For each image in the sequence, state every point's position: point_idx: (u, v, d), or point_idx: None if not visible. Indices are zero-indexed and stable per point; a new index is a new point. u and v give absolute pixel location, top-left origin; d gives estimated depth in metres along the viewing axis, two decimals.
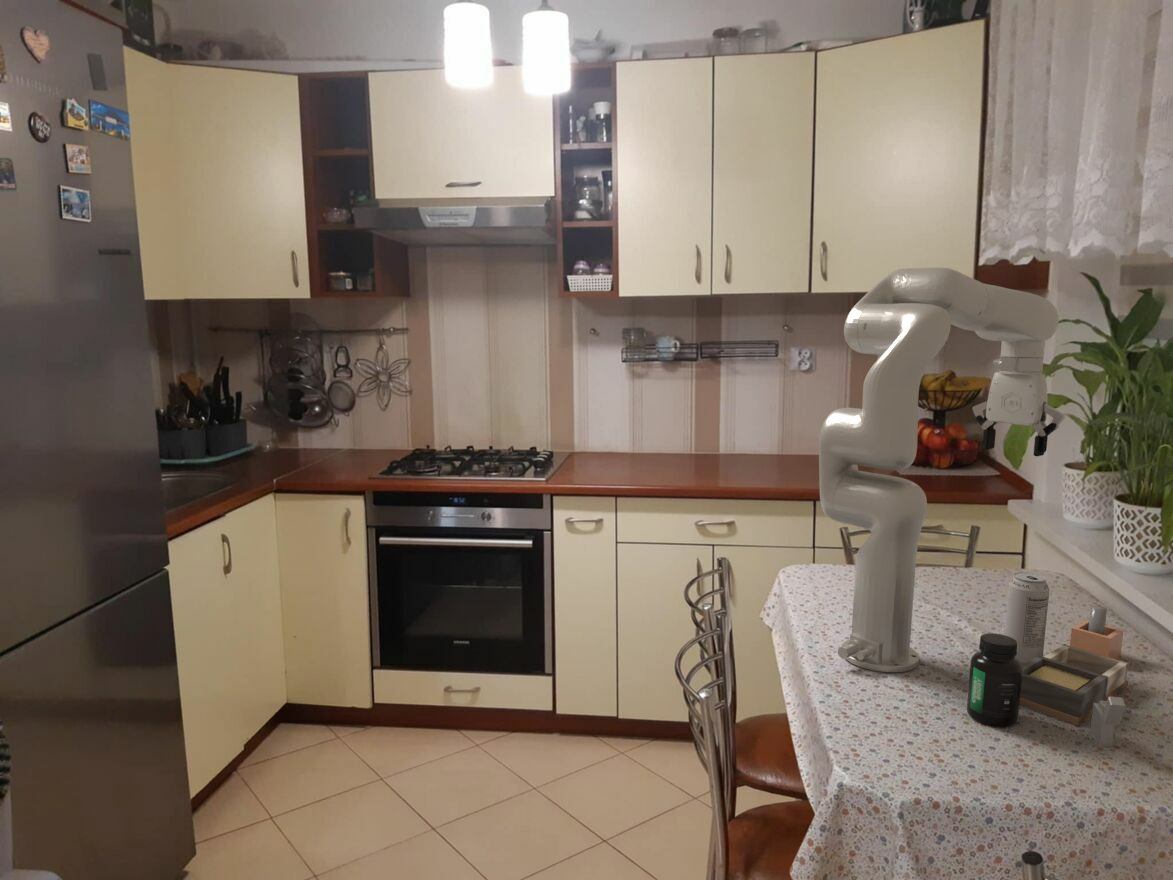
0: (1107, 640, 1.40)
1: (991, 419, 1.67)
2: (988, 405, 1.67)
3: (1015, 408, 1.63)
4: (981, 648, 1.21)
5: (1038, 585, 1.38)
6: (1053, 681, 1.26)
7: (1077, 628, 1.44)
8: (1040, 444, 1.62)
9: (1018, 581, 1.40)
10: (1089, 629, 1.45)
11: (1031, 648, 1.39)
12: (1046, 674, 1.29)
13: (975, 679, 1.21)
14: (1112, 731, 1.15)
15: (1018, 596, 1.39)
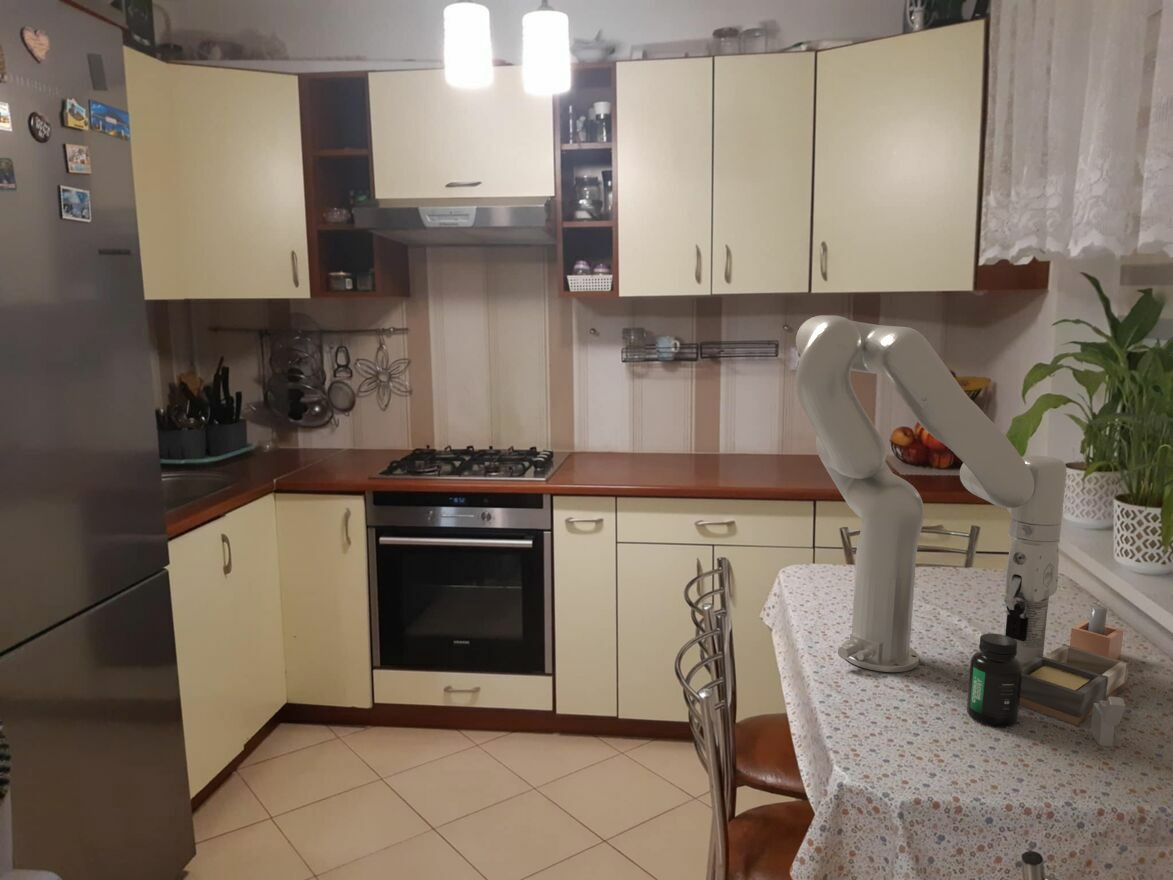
0: (1107, 640, 1.40)
1: (1036, 601, 1.36)
2: (1034, 586, 1.36)
3: (1049, 580, 1.39)
4: (981, 648, 1.21)
5: None
6: (1053, 681, 1.26)
7: (1077, 628, 1.44)
8: None
9: None
10: (1089, 629, 1.45)
11: (1031, 648, 1.39)
12: (1046, 674, 1.29)
13: (975, 679, 1.21)
14: (1112, 731, 1.15)
15: (1018, 596, 1.39)
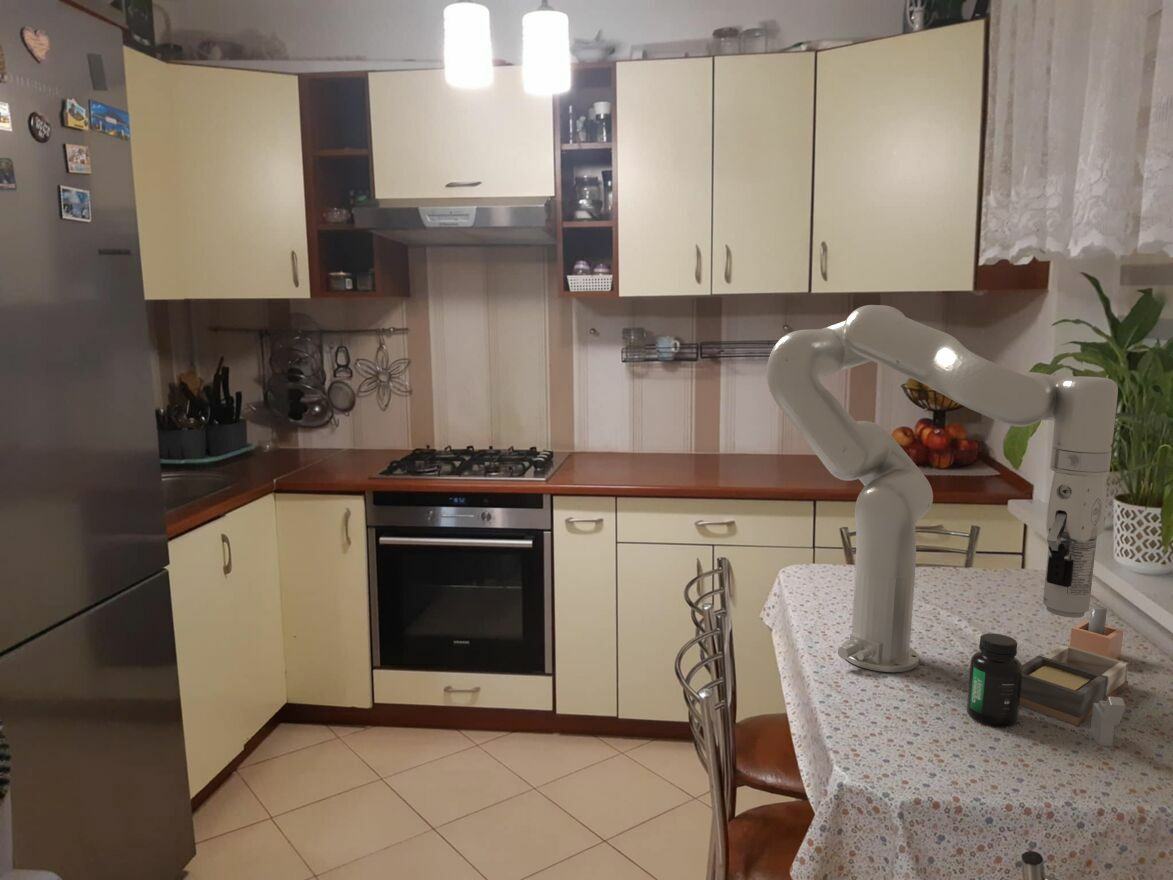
0: (1107, 640, 1.40)
1: (1083, 540, 1.20)
2: (1081, 523, 1.19)
3: (1097, 518, 1.22)
4: (981, 648, 1.21)
5: None
6: (1053, 681, 1.26)
7: (1077, 628, 1.44)
8: None
9: None
10: (1089, 629, 1.45)
11: (1077, 596, 1.22)
12: (1046, 674, 1.29)
13: (975, 679, 1.21)
14: (1112, 731, 1.15)
15: (1062, 536, 1.22)
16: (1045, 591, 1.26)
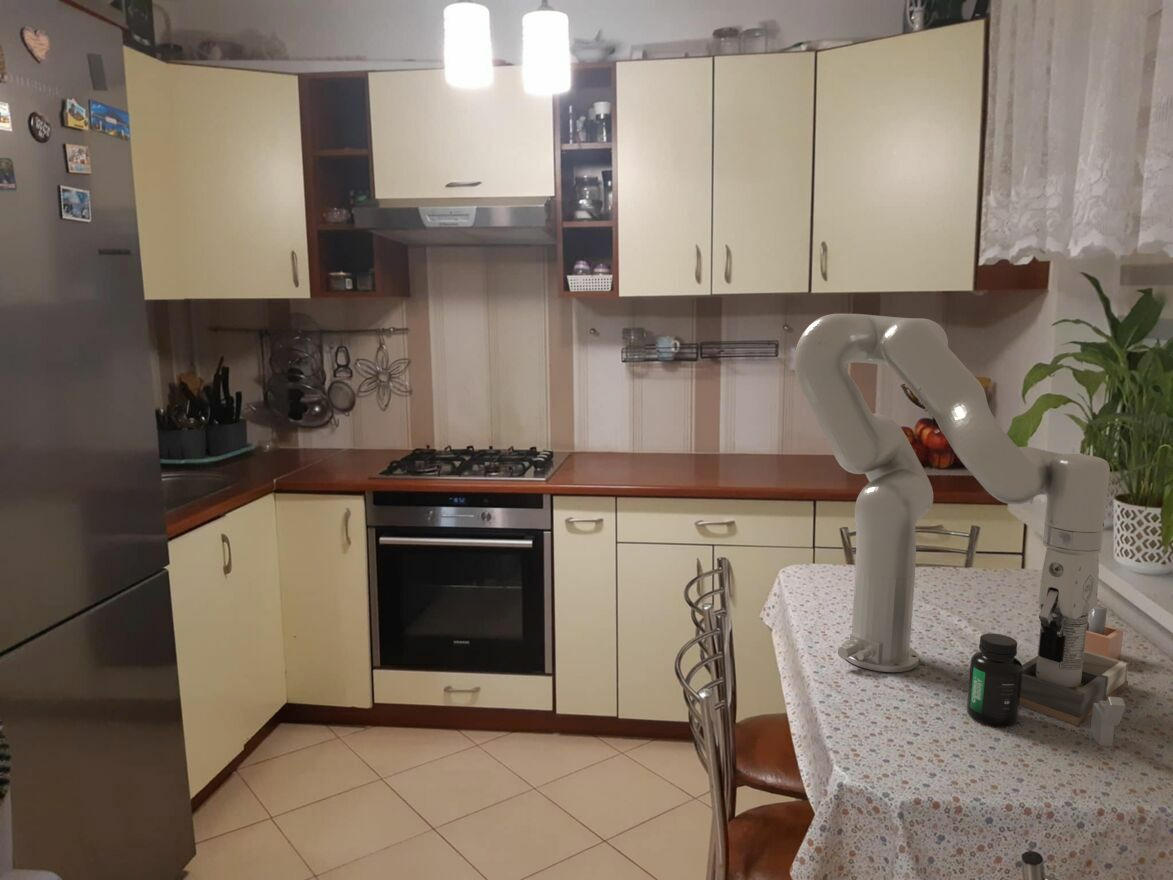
0: (1107, 640, 1.40)
1: (1074, 618, 1.21)
2: (1073, 601, 1.20)
3: (1089, 594, 1.24)
4: (981, 648, 1.21)
5: None
6: None
7: None
8: None
9: None
10: (1089, 629, 1.45)
11: (1069, 671, 1.24)
12: None
13: (975, 679, 1.21)
14: (1112, 731, 1.15)
15: (1054, 611, 1.24)
16: (1037, 664, 1.28)
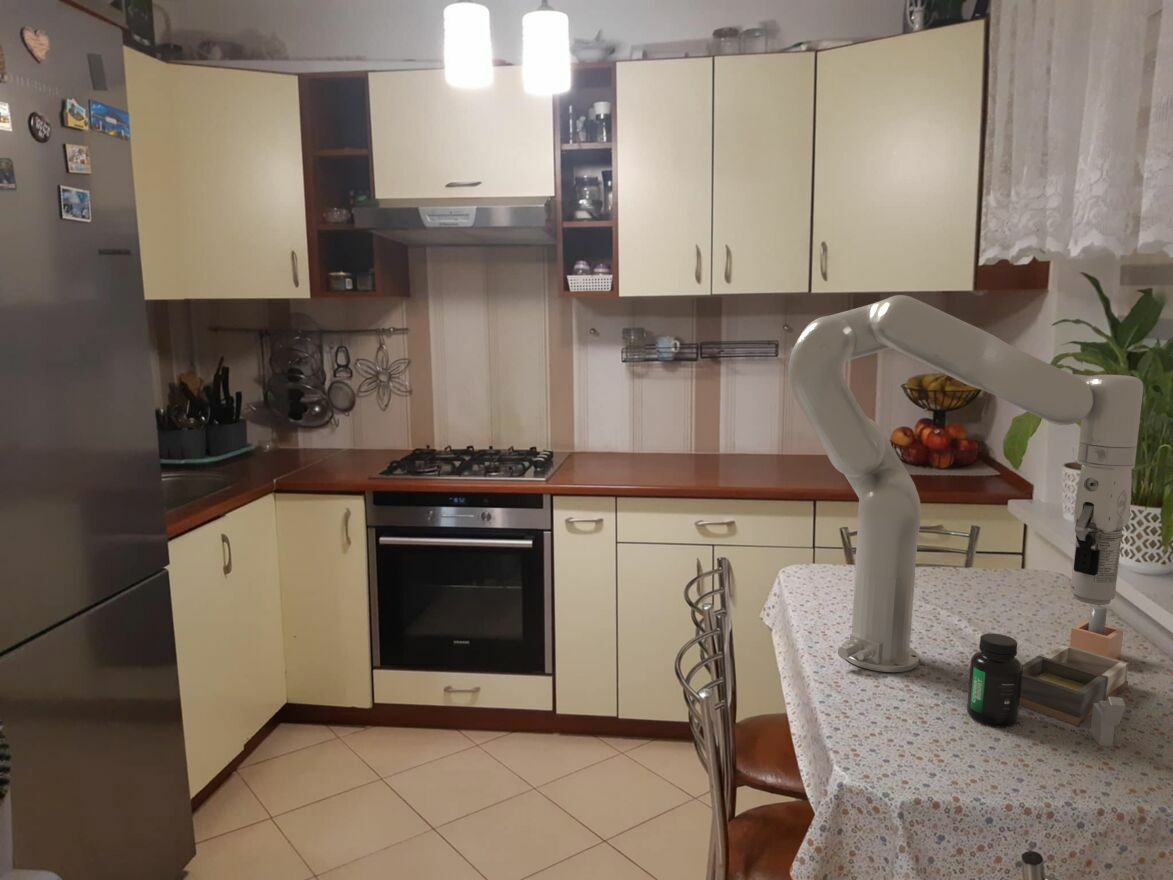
0: (1107, 640, 1.40)
1: (1109, 531, 1.26)
2: (1108, 514, 1.25)
3: (1122, 509, 1.28)
4: (981, 648, 1.21)
5: None
6: None
7: (1077, 628, 1.44)
8: None
9: None
10: (1089, 629, 1.45)
11: (1103, 584, 1.28)
12: (1045, 680, 1.29)
13: (975, 679, 1.21)
14: (1112, 731, 1.15)
15: (1089, 526, 1.28)
16: (1072, 580, 1.32)
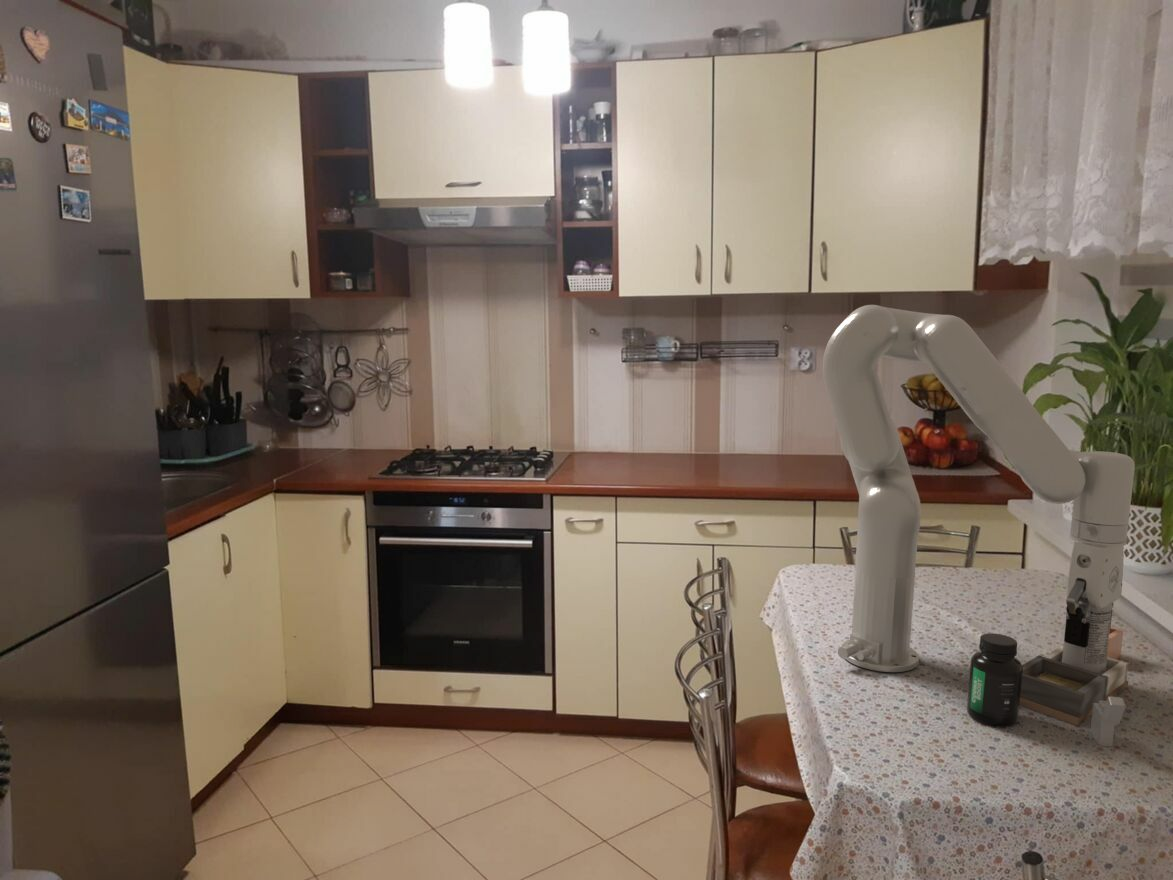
0: None
1: (1101, 607, 1.28)
2: (1100, 590, 1.27)
3: (1114, 584, 1.30)
4: (981, 648, 1.21)
5: None
6: None
7: None
8: None
9: None
10: None
11: (1093, 665, 1.30)
12: (1045, 680, 1.29)
13: (975, 679, 1.21)
14: (1112, 731, 1.15)
15: None
16: (1063, 659, 1.34)
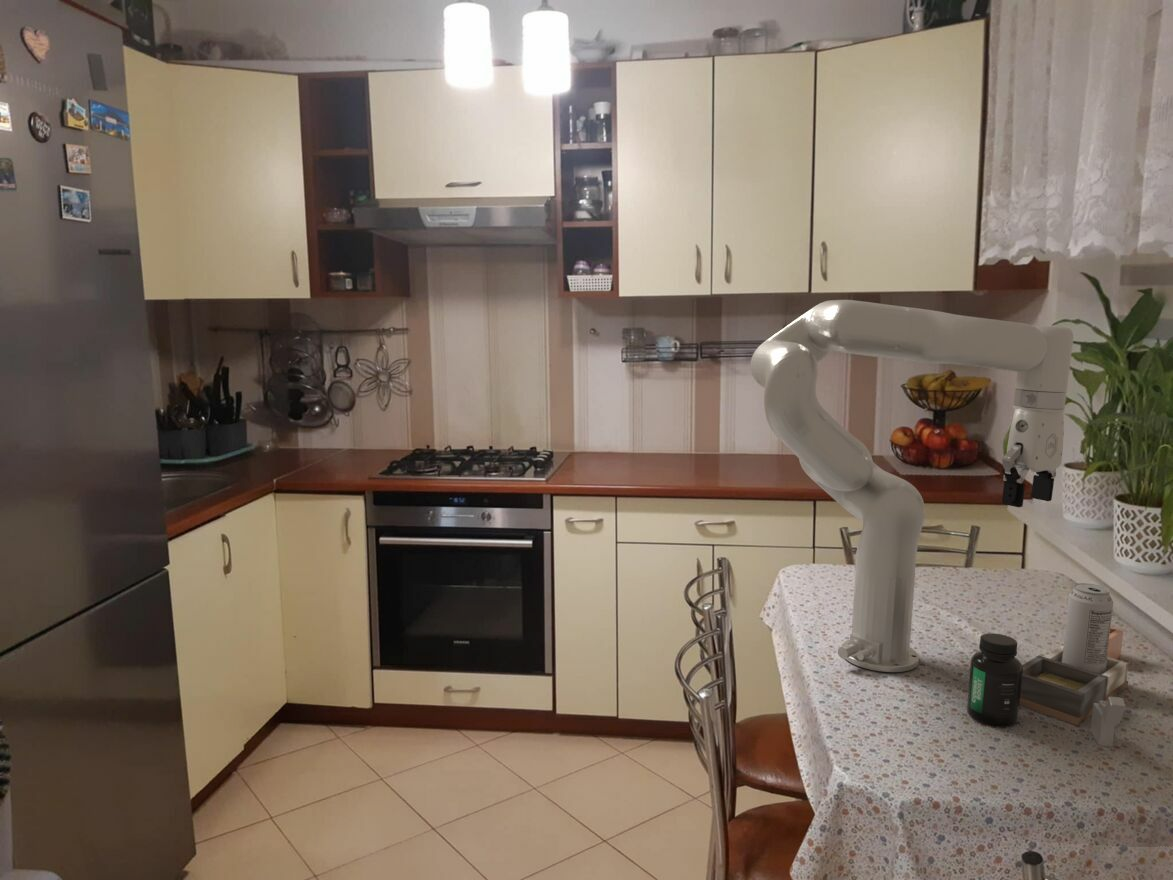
0: None
1: (1037, 469, 1.36)
2: (1035, 453, 1.35)
3: (1052, 451, 1.38)
4: (981, 648, 1.21)
5: (1101, 597, 1.29)
6: None
7: None
8: None
9: (1079, 593, 1.31)
10: None
11: (1094, 665, 1.30)
12: (1045, 680, 1.29)
13: (975, 679, 1.21)
14: (1112, 731, 1.15)
15: (1080, 609, 1.30)
16: (1063, 659, 1.34)
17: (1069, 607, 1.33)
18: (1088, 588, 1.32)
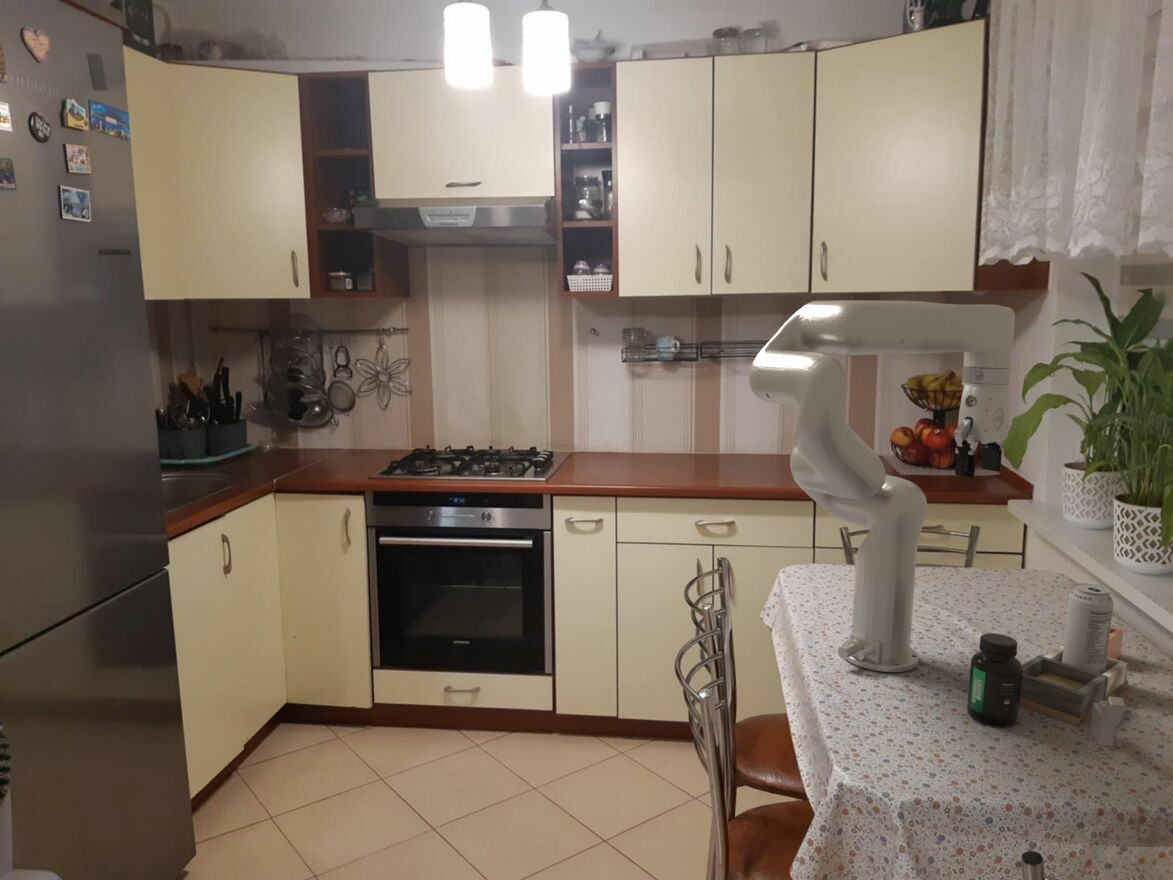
0: None
1: (986, 441, 1.44)
2: (984, 426, 1.43)
3: (999, 424, 1.47)
4: (981, 648, 1.21)
5: (1101, 597, 1.29)
6: None
7: None
8: None
9: (1079, 593, 1.31)
10: None
11: (1094, 665, 1.30)
12: (1045, 680, 1.29)
13: (975, 679, 1.21)
14: (1112, 731, 1.15)
15: (1080, 609, 1.30)
16: (1063, 659, 1.34)
17: (1069, 607, 1.33)
18: (1088, 588, 1.32)
